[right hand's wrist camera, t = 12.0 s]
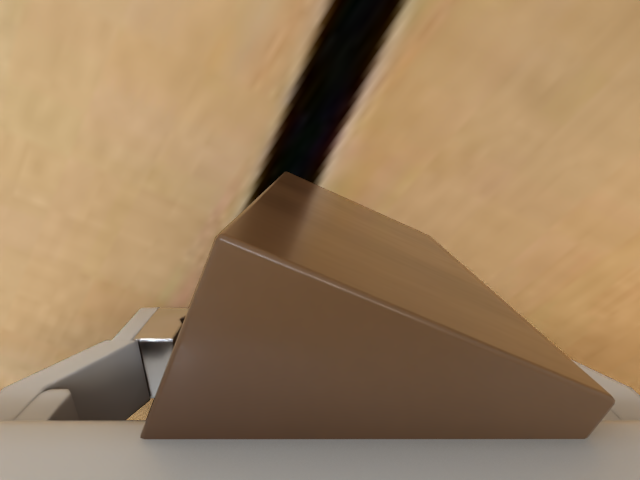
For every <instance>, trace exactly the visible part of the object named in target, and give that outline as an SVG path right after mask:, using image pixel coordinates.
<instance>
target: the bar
mask: <svg viewBox="0 0 640 480" xmlns="http://www.w3.org/2000/svg"><path fill="white" fill-rule="evenodd" d="M614 404H615V399H614V398H613V397H612V395H611V394H610V393H608V392H607V391H606V390H605V389H604V388H603V387H602V386H600V385H599V384H598V383H597V382H596V381H595V380H594V379H592V378H591V377H590V376H589V375H588V374H587V373H586V372H584V371H583V370H582V369H581V368H580V367H579V366H578V365H576V364H575V363H574V362H573V361H572V360H571V359H570V358H568V357H567V356H566V355H565V354H564V353H563V352H562V351H560V350H559V349H558V348H557V347H556V346H555V345H554V344H552V343H551V342H550V341H549V340H548V339H547V338H546V337H544V336H543V335H542V334H541V333H540V332H539V331H538V330H536V329H535V328H534V327H533V326H532V325H531V324H530V323H528V322H527V321H526V320H525V319H524V318H523V317H522V316H520V315H519V314H518V313H517V312H516V311H515V310H514V309H512V308H511V307H510V306H509V305H508V304H507V303H506V302H504V301H503V300H502V299H501V298H500V297H499V296H498V295H497V294H495V293H494V292H493V291H492V290H491V289H490V288H489V287H487V286H486V285H485V284H484V283H483V282H482V281H481V280H479V279H478V278H477V277H476V276H475V275H474V274H473V273H471V272H470V271H469V270H468V269H467V268H466V267H465V266H463V265H462V264H461V263H460V262H459V261H458V260H457V259H455V258H454V257H453V256H452V255H451V254H450V253H449V252H447V251H446V250H445V249H444V248H443V247H442V246H441V245H439V244H438V243H437V242H436V241H435V240H434V239H433V238H431V237H430V236H429V235H427V234H425V233H422V232H420V231H418V230H416V229H413V228H411V227H409V226H407V225H404V224H402V223H400V222H398V221H396V220H393V219H391V218H389V217H387V216H384V215H382V214H380V213H378V212H375V211H373V210H371V209H369V208H367V207H364V206H362V205H360V204H358V203H355V202H353V201H351V200H349V199H346V198H344V197H342V196H340V195H338V194H335V193H333V192H331V191H329V190H326V189H324V188H322V187H320V186H318V185H315V184H313V183H311V182H309V181H306V180H304V179H302V178H300V177H297V176H295V175H293V174H291V173H289V172H285V173H283V174H282V175H281V176H280V177H279V178H278V179H277V180H276V181H275V182H274V183H273V184H272V185H271V186H269V187H268V188H267V189H266V190H265V191H264V192H263V193H262V194H261V195H260V196H259V197H258V198H257V199H256V200H254V201H253V202H252V203H251V204H250V205H249V206H248V207H247V208H246V209H245V210H244V211H243V212H242V213H241V214H239V215H238V216H237V217H236V218H235V219H234V220H233V221H232V222H231V223H230V224H229V225H228V226H227V227H226V228H224V229H223V230H222V231H221V232H220V233H219V234H218V235H217V236H216V237H215V240H214V243H213V245H212V248H211V251H210V253H209V256H208V258H207V261H206V264H205V266H204V269H203V272H202V274H201V277H200V279H199V282H198V285H197V287H196V290H195V293H194V295H193V298H192V300H191V303H190V306H189V308H188V311H187V314H186V316H185V319H184V321H183V324H182V327H181V329H180V332H179V335H178V337H177V340H176V342H175V345H174V348H173V350H172V353H171V356H170V358H169V361H168V364H167V366H166V369H165V371H164V374H163V377H162V379H161V382H160V385H159V387H158V390H157V392H156V395H155V398H154V400H153V403H152V406H151V408H150V411H149V413H148V416H147V419H146V421H145V424H144V427H143V429H142V432H141V434H140V438H142V439H586V438H588V437H589V435H590V434H591V433H592V432H593V430H594V429H595V428H596V427H597V425H598V424H599V423H600V422H601V420H602V419H603V418H604V417H605V415H606V414H607V413H608V412H609V410H610V409H611V408H612V407H613V406H614Z"/></svg>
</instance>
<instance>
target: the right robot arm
mask: <svg viewBox="0 0 640 480" xmlns="http://www.w3.org/2000/svg"><path fill="white" fill-rule="evenodd" d="M187 311H188V308H163V307H162V308H160V307H144V308H140V309H139V310H138V311H137V313H136V314H135V315H134V316H133V317H132V318H131V319H130V320H129V321H128V322H127V324H126V325H125V326H124V327H123V328H122V329H121V330H120V331H119V332H118V334H117V335H116V336H115V337H114V338H113V339H112V340H105V341H103V342H101V343H99V344H96V345H94V346H92V347H90V348H88V349H86V350H84V351H81V352H79V353H77V354H75V355H73V356H71V357H69V358H66V359H64V360H62V361H60V362H58V363H56V364H54V365H51V366H49V367H47V368H45V369H43V370H41V371H39V372H36V373H34V374H32V375H30V376H28V377H26V378H24V379H22V380H19V381H17V382H15V383H13V384H11V385H9V386H7V387H4V388H3V389H2V390H1V391H0V480H640V395H639V394H638V393H637V392H636V391H634V390H633V389H632V388H630V387H628V386H626V385H624V384H622V383H620V382H618V381H616V380H614V379H611V378H609V377H607V376H605V375H603V374H601V373H599V372H597V371H595V370H592V369H590V368H588V367H586V366H584V365H582V364H580V363H578V362H576V361H573V360H572V361H573V362H574V363H575V364H576V365H578V366H579V367H580V368H581V369H582V370H583V371H584V372H586V373H587V374H588V375H589V376H590V377H591V378H592V379H594V380H595V381H596V382H597V383H598V384H599V385H600V386H602V387H603V388H604V389H605V390H606V391H607V392H608V393H610V394H611V395H612V397H613V398H614V399H615V404H614V406H613V407H612V408H611V409H610V410H609V412H608V413H607V414H606V415H605V417H604V418H603V419H602V420H601V422H600V423H599V424H598V425H597V427H596V428H595V429H594V430H593V432H592V433H591V434H590V435H589V437H588V438H586V439H142V438H140V434H141V432H142V429H143V427H144V424H145V421H146V420H126V419H128V418H129V417H130V416H131V415H132V414H134V413H135V412H136V411H137V410H138V409H140V408H141V407H142V406H143V405H145V404H146V403H147V402H148V401H149V400H150V398H155V395H156V392H157V390H158V387H159V385H160V382H161V379H162V377H163V374H164V371H165V369H166V366H167V364H168V361H169V358H170V356H171V353H172V350H173V348H174V345H175V342H176V340H177V337H178V335H179V332H180V329H181V327H182V324H183V321H184V319H185V316H186V314H187Z"/></svg>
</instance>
